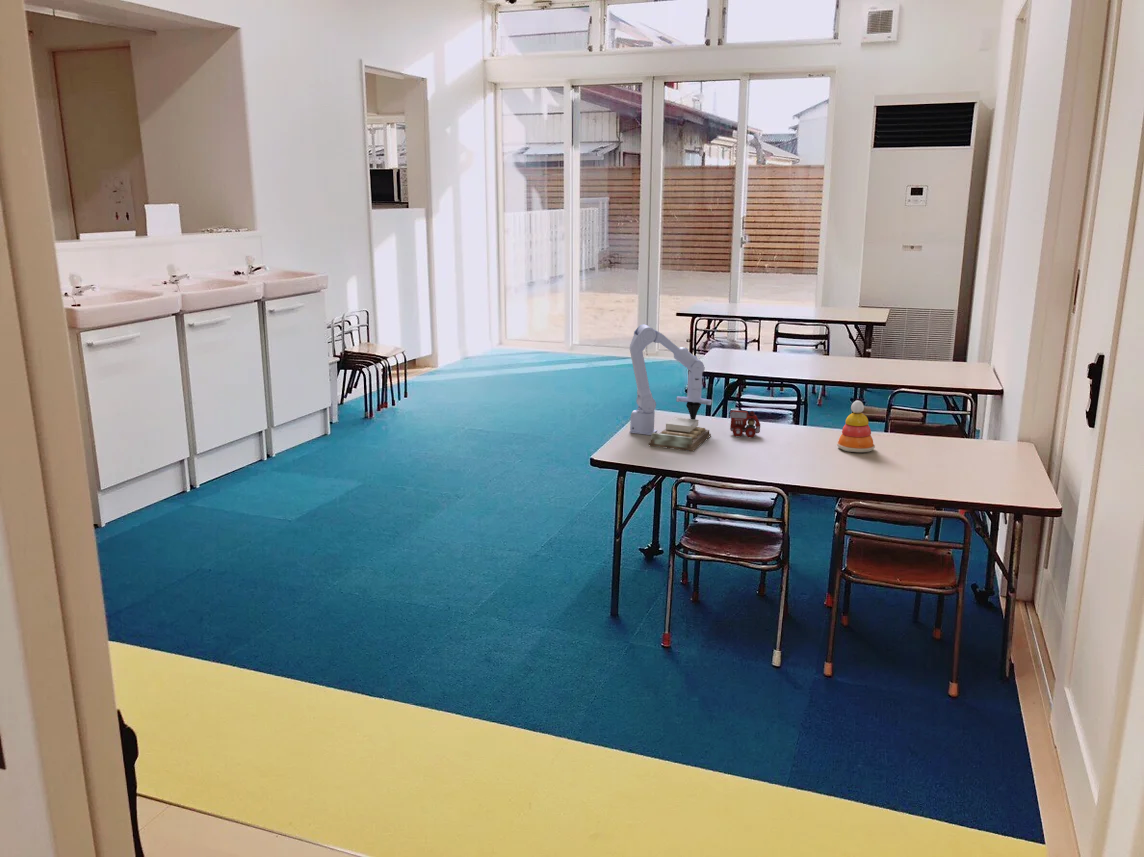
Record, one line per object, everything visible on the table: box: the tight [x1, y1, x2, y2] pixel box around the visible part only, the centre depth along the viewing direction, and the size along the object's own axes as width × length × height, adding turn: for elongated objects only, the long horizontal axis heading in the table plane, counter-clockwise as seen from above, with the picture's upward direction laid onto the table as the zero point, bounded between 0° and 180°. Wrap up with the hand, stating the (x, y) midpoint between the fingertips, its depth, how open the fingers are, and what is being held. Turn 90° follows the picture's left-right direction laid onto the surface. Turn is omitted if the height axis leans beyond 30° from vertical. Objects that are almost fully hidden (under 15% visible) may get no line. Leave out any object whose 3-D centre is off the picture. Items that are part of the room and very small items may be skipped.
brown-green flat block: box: [648, 426, 712, 452], centre depth 356 cm, size 18×25×5 cm
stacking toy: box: [836, 399, 876, 453], centre depth 346 cm, size 14×14×20 cm
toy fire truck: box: [729, 409, 761, 438], centre depth 365 cm, size 7×12×10 cm, turn 79°
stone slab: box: [665, 416, 700, 432], centre depth 363 cm, size 10×12×2 cm
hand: (693, 420), depth 371 cm, fingers closed
